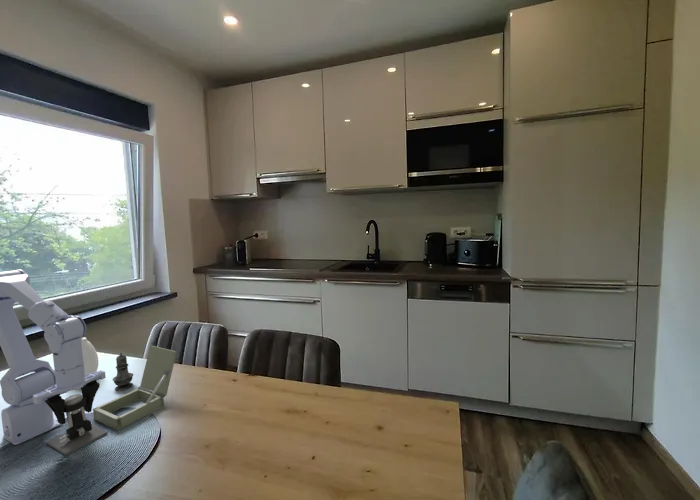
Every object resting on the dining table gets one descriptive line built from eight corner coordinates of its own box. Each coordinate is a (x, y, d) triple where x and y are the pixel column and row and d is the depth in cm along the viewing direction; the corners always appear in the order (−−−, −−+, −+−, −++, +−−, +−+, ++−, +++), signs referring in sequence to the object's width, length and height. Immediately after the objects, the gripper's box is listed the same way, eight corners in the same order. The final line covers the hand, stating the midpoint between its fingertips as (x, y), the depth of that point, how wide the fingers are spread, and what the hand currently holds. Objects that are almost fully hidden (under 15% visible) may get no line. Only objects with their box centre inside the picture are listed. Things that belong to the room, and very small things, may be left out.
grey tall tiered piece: (126, 391, 110) (123, 356, 109) (109, 391, 110) (105, 356, 109) (138, 382, 116) (135, 349, 115) (121, 382, 116) (118, 349, 115)
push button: (66, 446, 81) (58, 408, 80) (55, 441, 84) (48, 404, 83) (96, 430, 87) (90, 394, 86) (85, 425, 90) (79, 390, 88)
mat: (65, 455, 80) (65, 453, 80) (46, 443, 84) (46, 441, 84) (107, 433, 88) (107, 431, 88) (87, 423, 92) (87, 422, 92)
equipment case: (117, 430, 89) (112, 375, 87) (93, 419, 94) (88, 367, 93) (180, 397, 105) (176, 350, 104) (157, 389, 111) (153, 344, 109)
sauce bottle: (76, 378, 120) (70, 329, 119) (102, 373, 124) (97, 326, 122) (68, 387, 113) (63, 336, 112) (96, 382, 117) (91, 332, 115)
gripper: (39, 381, 76) (46, 437, 77) (109, 357, 89) (114, 406, 90) (26, 375, 79) (33, 429, 80) (95, 353, 92) (100, 400, 93)
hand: (75, 416), depth 85 cm, fingers closed on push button, 5 cm apart
